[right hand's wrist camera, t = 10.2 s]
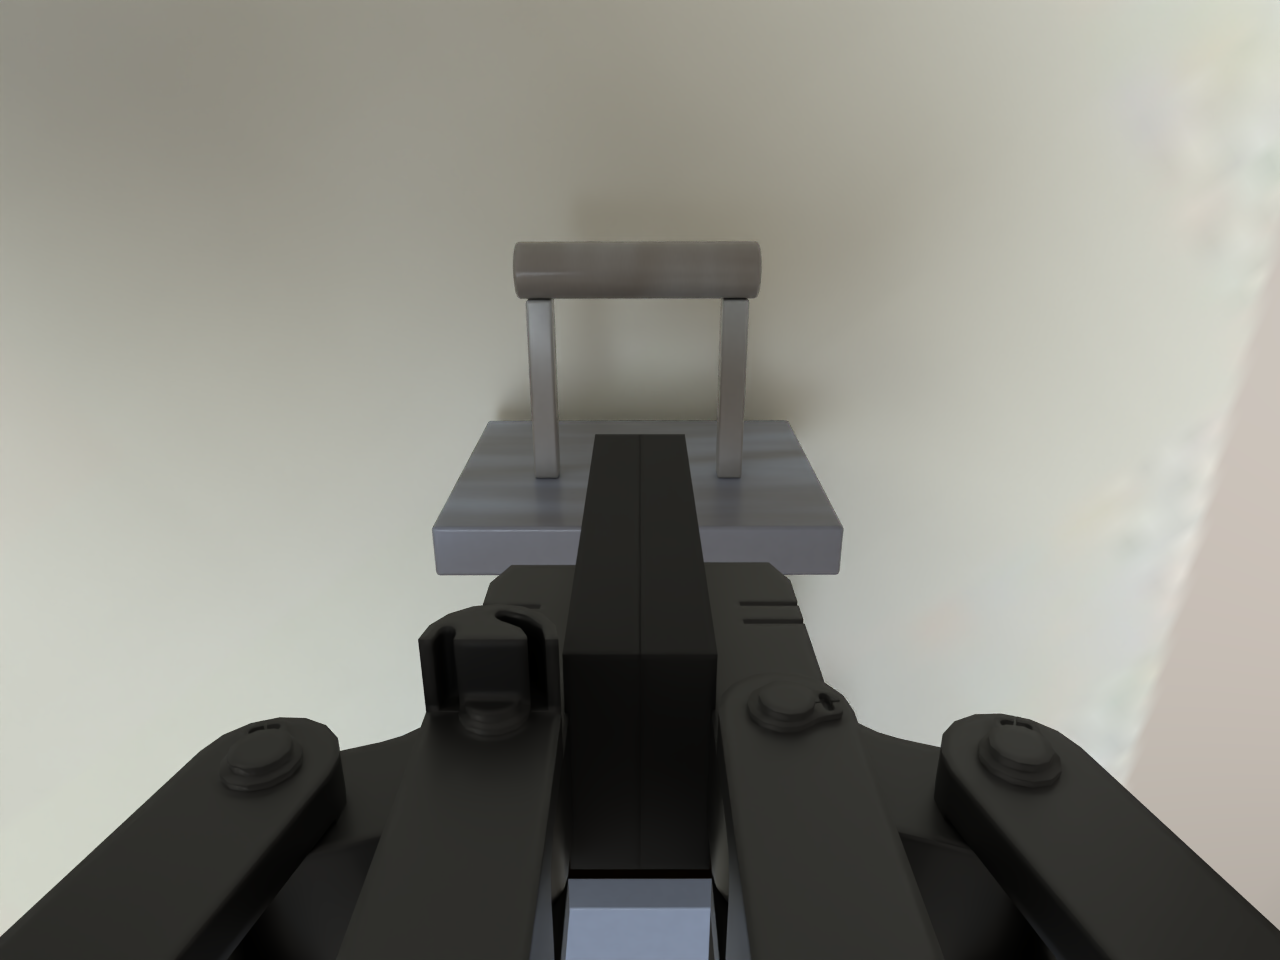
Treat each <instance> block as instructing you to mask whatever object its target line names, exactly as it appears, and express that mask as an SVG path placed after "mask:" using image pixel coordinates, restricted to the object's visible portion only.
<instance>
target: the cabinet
mask: <svg viewBox="0 0 1280 960" xmlns="http://www.w3.org/2000/svg"><path fill="white" fill-rule="evenodd" d="M568 884H569V908H570V914H569V925H568V937H567V948H566V960H708V957H709V932H710V908H711V884H712V879H568Z"/></svg>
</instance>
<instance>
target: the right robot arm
mask: <svg viewBox="0 0 1280 960" xmlns="http://www.w3.org/2000/svg"><path fill="white" fill-rule="evenodd" d="M418 642H419V651H420V660H421V669H422V678H423V687H424V696H425V705H426V714H425V717H424V720H423V722H422V725H421V727H420V728H418V729H416V730H414V731H412V732H410V733H407V734H405V735H403V736H400V737H397V738H394V739H390V740H387V741H383V742H380V743H375V744H370V745H366V746H361V747H356V748H352V749H347V750H343V751H340V748H339V742H338V738H337V737H336V736H335V734H334V733H333V732H332V731H331V730H330V729H329V728H328V727H327V726H326V725H324V724H321V723H318V722H315V721H313V720H310V719H307V718H282V717H279V718H274V719H269V720H263V721H259V722H255V723H250V724H248V725H246V726H243V727H241V728H238V729H236V730H234V731H231V732H229V733H227V734H224V735H222V736H221V737H220V738H218V739H217V740H215V741H214V742H212V743H211V744H210V745H208V746H207V747H205V748H204V749H203V750H201V751H200V752H199V753H198V754H197V755H196V756H194V757H193V758H192V759H191V760H190V761H189V762H188V763H187V764H186V765H185V766H184V767H183V768H182V769H180V770H179V771H178V772H177V773H176V774H175V775H174V776H173V777H172V778H171V779H170V780H169V781H168V782H166V783H165V784H164V785H163V786H162V787H161V788H160V789H159V790H158V791H157V792H156V793H155V794H154V795H152V796H151V797H150V798H149V799H148V800H147V801H146V802H145V803H144V804H143V805H142V806H141V807H140V808H138V809H137V810H136V811H135V812H134V813H133V814H132V815H131V816H130V817H129V818H128V819H127V820H126V821H124V822H123V823H122V824H121V825H120V826H119V827H118V828H117V829H116V830H115V831H114V832H113V833H112V834H111V835H109V836H108V837H107V838H106V839H105V840H104V841H103V842H102V843H101V844H100V845H99V846H98V847H97V848H95V849H94V850H93V851H92V852H91V853H90V854H89V855H88V856H87V857H86V858H85V859H84V860H83V861H81V862H80V863H79V864H78V865H77V866H76V867H75V868H74V869H73V870H72V871H71V872H70V873H69V874H67V875H66V876H65V877H64V878H63V879H62V880H61V881H60V882H59V883H58V884H57V885H56V886H55V887H53V888H52V889H51V890H50V891H49V892H48V893H47V894H46V895H45V896H44V897H43V898H42V899H41V900H39V901H38V902H37V903H36V904H35V905H34V906H33V907H32V908H31V909H30V910H29V911H28V912H27V913H26V914H24V915H23V916H22V917H21V918H20V919H19V920H18V921H17V922H16V923H15V924H14V925H13V926H12V927H10V928H9V929H8V930H7V931H6V932H5V933H4V934H3V935H2V936H1V937H0V960H566V948H567V937H568V925H569V914H570V908H569V884H568V871H569V861H571V869H709V861H710V857H711V867H712V884H711V908H710V932H709V957H708V960H1280V931H1279V930H1278V929H1277V928H1276V927H1275V926H1274V925H1273V924H1272V923H1271V922H1270V921H1269V920H1267V919H1266V918H1265V917H1264V916H1263V915H1262V914H1261V913H1260V912H1259V911H1258V910H1257V909H1256V908H1254V907H1253V906H1252V905H1251V904H1250V903H1249V902H1248V901H1247V900H1246V899H1245V898H1244V897H1242V896H1241V895H1240V894H1239V893H1238V892H1237V891H1236V890H1235V889H1234V888H1233V887H1232V886H1231V885H1229V884H1228V883H1227V882H1226V881H1225V880H1224V879H1223V878H1222V877H1221V876H1220V875H1219V874H1218V873H1217V872H1215V871H1214V870H1213V869H1212V868H1211V867H1210V866H1209V865H1208V864H1207V863H1206V862H1205V861H1204V860H1202V859H1201V858H1200V857H1199V856H1198V855H1197V854H1196V853H1195V852H1194V851H1193V850H1192V849H1190V848H1189V847H1188V846H1187V845H1186V844H1185V843H1184V842H1183V841H1182V840H1181V839H1180V838H1178V837H1177V836H1176V835H1175V834H1174V833H1173V832H1172V831H1171V830H1170V829H1169V828H1168V827H1167V826H1166V825H1164V824H1163V823H1162V822H1161V821H1160V820H1159V819H1158V818H1157V817H1156V816H1155V815H1154V814H1153V813H1151V812H1150V811H1149V810H1148V809H1147V808H1146V807H1145V806H1144V805H1143V804H1142V803H1141V802H1140V801H1138V800H1137V799H1136V798H1135V797H1134V796H1133V795H1132V794H1131V793H1130V792H1129V791H1128V790H1127V789H1125V788H1124V787H1123V786H1122V785H1121V784H1120V783H1119V782H1118V781H1117V780H1116V779H1115V778H1114V777H1112V776H1111V775H1110V774H1109V773H1108V772H1107V771H1106V770H1105V769H1104V768H1103V767H1102V766H1101V765H1099V764H1098V763H1097V762H1096V761H1095V760H1094V759H1093V758H1092V757H1091V756H1090V755H1089V754H1087V753H1086V752H1085V751H1084V750H1083V749H1082V748H1081V747H1080V746H1078V745H1077V744H1075V743H1074V742H1072V741H1071V740H1070V739H1068V738H1067V737H1065V736H1064V735H1063V734H1061V733H1060V732H1058V731H1056V730H1054V729H1051V728H1049V727H1047V726H1044V725H1042V724H1039V723H1037V722H1035V721H1032V720H1030V719H1025V718H1021V717H1015V716H1010V715H1005V714H975V715H972V716H969V717H966V718H963V719H960V720H957V721H954V723H953V724H952V725H951V726H950V727H949V728H948V729H947V730H946V731H945V732H944V733H943V736H942V742H941V748H940V747H936V746H931V745H926V744H922V743H917V742H913V741H908V740H903V739H899V738H895V737H892V736H889V735H885V734H882V733H878V732H876V731H874V730H872V729H870V728H867V727H865V726H863V725H861V724H859V723H858V721H857V718H856V716H855V713H854V711H853V709H852V708H851V706H850V705H849V703H848V702H847V700H846V699H845V698H844V696H843V695H842V694H840V693H839V692H837V691H836V690H834V689H833V688H832V687H830V686H829V685H827V684H826V683H824V680H823V677H822V674H821V671H820V668H819V665H818V662H817V659H816V656H815V653H814V650H813V647H812V644H811V641H810V638H809V635H808V632H807V629H806V626H805V624H803V617H802V614H801V611H800V608H799V606H797V599H796V597H795V594H794V591H793V588H792V585H791V582H790V580H789V579H788V578H787V577H785V576H784V575H783V574H782V573H781V572H780V571H778V570H777V569H776V568H775V567H774V566H773V565H771V564H770V563H769V562H704V560H703V553H702V546H701V539H700V533H699V526H698V519H697V513H696V506H695V499H694V492H693V486H692V479H691V472H690V466H689V459H688V452H687V446H686V439H685V434H595V439H594V446H593V452H592V459H591V466H590V472H589V479H588V486H587V492H586V499H585V506H584V513H583V519H582V526H581V533H580V539H579V546H578V553H577V560H576V565H511V566H510V567H508V568H507V569H506V570H505V571H504V572H503V573H501V574H500V575H499V576H498V577H497V578H496V579H494V580H493V581H492V582H491V583H490V585H489V588H488V591H487V594H486V597H485V600H484V603H483V605H482V606H473V607H470V608H466V609H463V610H460V611H456V612H453V613H450V614H448V615H446V616H444V617H443V618H441V619H439V620H438V621H436V622H434V623H433V624H431V625H429V627H428V628H427V629H426V630H425V632H424V633H423V634H422V635H421V637H420V638H419V639H418Z"/></svg>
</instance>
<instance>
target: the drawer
mask: <svg viewBox="0 0 1280 960" xmlns="http://www.w3.org/2000/svg"><path fill="white" fill-rule="evenodd" d="M513 276H514V286H515V291H516V294H517V297H518V298H520V299H528V300H527V302H526V316H527V336H528V355H529V375H530V395H531V414H532V421H490V422H488V424H487V426H486V428H485V430H484V432H483V433H482V435H481V437H480V439H479V441H478V443H477V445H476V447H475V449H474V450H473V452H472V454H471V456H470V458H469V460H468V462H467V464H466V466H465V467H464V469H463V471H462V473H461V475H460V477H459V479H458V481H457V483H456V484H455V486H454V488H453V490H452V492H451V494H450V496H449V498H448V500H447V501H446V503H445V505H444V507H443V509H442V511H441V513H440V515H439V517H438V518H437V520H436V522H435V524H434V526H433V528H432V534H433V544H434V554H435V564H436V572H437V574H438V575H500V574H501V573H503V572H504V571H505V570H506V569H507V568H508V567H510V566H511V565H576V560H577V553H578V546H579V539H580V533H581V526H582V519H583V513H584V506H585V499H586V492H587V486H588V479H589V472H590V466H591V459H592V452H593V446H594V439H595V434H685V439H686V446H687V452H688V459H689V466H690V472H691V479H692V486H693V492H694V499H695V506H696V513H697V519H698V526H699V533H700V539H701V546H702V553H703V560H704V562H769V563H770V564H771V565H773V566H774V567H775V568H776V569H777V570H778V571H780V572H781V573H782V574H783V575H836V574H838V573H839V570H840V559H841V549H842V538H843V527H842V525H841V523H840V521H839V519H838V517H837V515H836V513H835V511H834V509H833V507H832V505H831V503H830V501H829V500H828V498H827V496H826V494H825V492H824V490H823V488H822V486H821V484H820V482H819V480H818V478H817V476H816V474H815V472H814V470H813V469H812V467H811V465H810V463H809V461H808V459H807V457H806V455H805V453H804V451H803V449H802V447H801V445H800V443H799V441H798V440H797V438H796V436H795V434H794V432H793V430H792V428H791V426H790V424H789V422H788V421H744V405H745V383H746V360H747V338H748V316H749V301H748V299H747V298H756V297H757V296H758V293H759V290H760V283H761V249H760V245H759V243H758V242H756V241H702V242H518V243H516V244H515V247H514V254H513ZM652 298H721V314H720V345H719V375H718V406H717V421H559V417H558V392H557V366H556V340H555V315H554V299H652ZM568 879H712V867H711V857H710V861H709V869H571V861H569V871H568Z"/></svg>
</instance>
